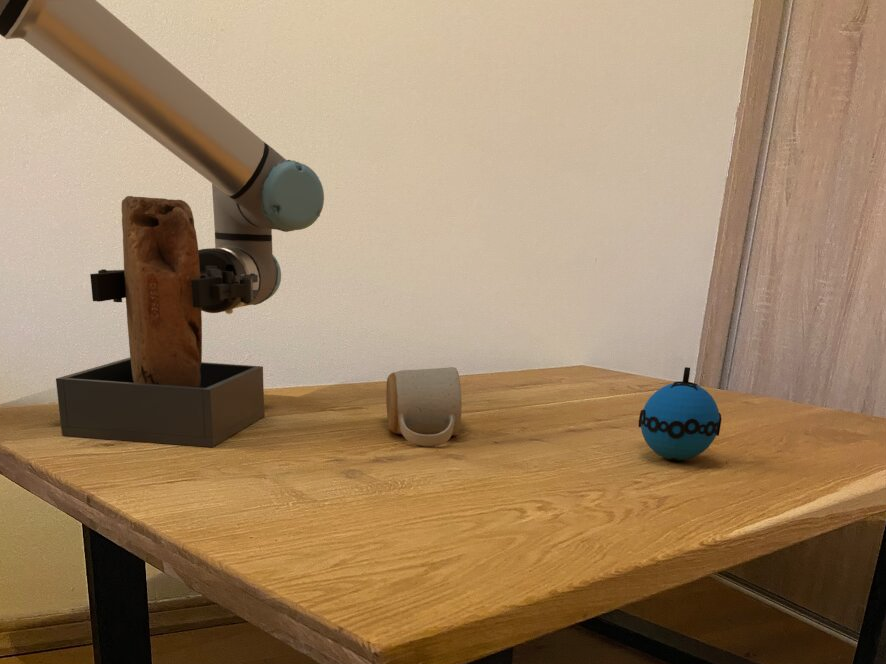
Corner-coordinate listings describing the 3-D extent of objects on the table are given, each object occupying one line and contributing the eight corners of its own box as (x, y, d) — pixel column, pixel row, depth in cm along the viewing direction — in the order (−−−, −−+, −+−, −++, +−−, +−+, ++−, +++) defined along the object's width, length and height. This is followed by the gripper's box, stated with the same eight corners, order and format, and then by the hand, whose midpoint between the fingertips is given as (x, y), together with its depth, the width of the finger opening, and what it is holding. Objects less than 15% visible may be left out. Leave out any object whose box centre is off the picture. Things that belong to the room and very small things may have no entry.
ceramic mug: (383, 426, 111) (385, 361, 108) (451, 427, 112) (454, 362, 109) (393, 448, 101) (395, 377, 98) (466, 449, 102) (470, 378, 99)
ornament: (712, 473, 97) (728, 376, 94) (630, 463, 99) (642, 368, 96) (715, 456, 105) (730, 366, 101) (639, 447, 107) (650, 359, 103)
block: (130, 383, 107) (115, 195, 100) (196, 382, 110) (187, 199, 103) (138, 400, 98) (123, 195, 91) (210, 399, 101) (201, 199, 93)
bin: (61, 435, 98) (55, 378, 96) (134, 406, 115) (130, 357, 112) (212, 447, 97) (210, 389, 95) (264, 416, 113) (263, 366, 111)
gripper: (308, 316, 117) (252, 334, 97) (135, 305, 119) (45, 321, 99) (307, 252, 114) (250, 258, 94) (130, 243, 116) (36, 246, 96)
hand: (145, 290), depth 96 cm, fingers closed on block, 10 cm apart
